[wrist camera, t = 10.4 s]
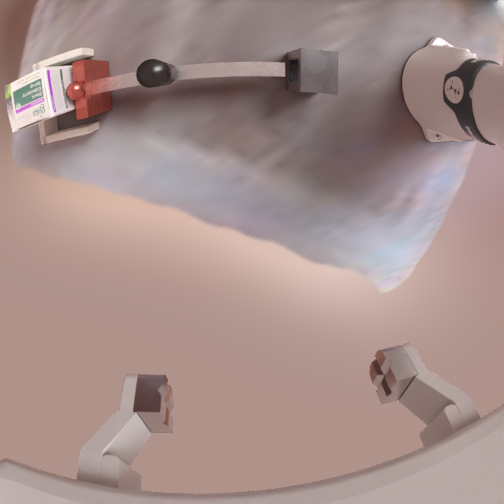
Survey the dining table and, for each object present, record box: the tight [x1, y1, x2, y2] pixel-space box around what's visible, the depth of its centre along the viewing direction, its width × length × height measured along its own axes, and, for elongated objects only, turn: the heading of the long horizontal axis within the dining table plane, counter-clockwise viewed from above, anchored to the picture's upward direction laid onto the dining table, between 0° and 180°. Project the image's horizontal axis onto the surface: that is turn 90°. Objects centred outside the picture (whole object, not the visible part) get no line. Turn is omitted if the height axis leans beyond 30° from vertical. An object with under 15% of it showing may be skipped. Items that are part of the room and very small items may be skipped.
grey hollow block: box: [287, 48, 338, 95], centre depth 32 cm, size 4×5×7 cm
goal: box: [33, 48, 99, 145], centre depth 30 cm, size 8×12×4 cm, turn 1°
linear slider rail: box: [66, 59, 285, 120], centre depth 28 cm, size 24×7×12 cm, turn 91°
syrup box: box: [5, 66, 76, 132], centre depth 26 cm, size 6×6×14 cm
